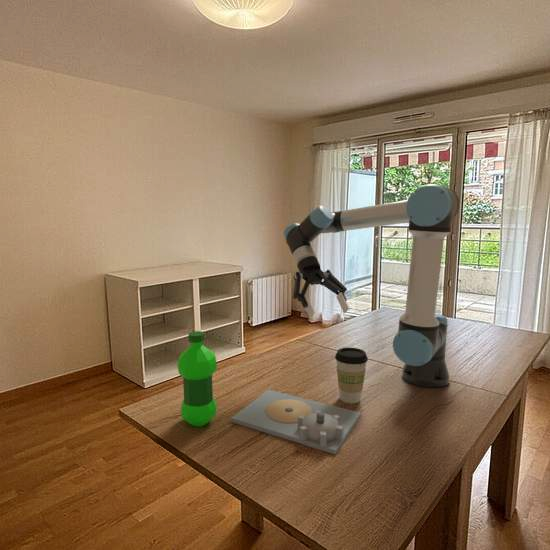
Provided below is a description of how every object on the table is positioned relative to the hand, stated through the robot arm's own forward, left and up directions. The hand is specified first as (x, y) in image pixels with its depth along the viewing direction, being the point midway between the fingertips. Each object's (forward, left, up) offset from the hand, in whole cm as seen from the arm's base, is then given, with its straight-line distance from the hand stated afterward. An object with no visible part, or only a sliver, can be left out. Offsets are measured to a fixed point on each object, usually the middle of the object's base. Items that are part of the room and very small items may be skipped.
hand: (329, 313), depth 126 cm
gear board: (-1, +25, -25) cm, 35 cm away
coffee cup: (-10, +6, -25) cm, 27 cm away
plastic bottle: (+22, +39, -25) cm, 52 cm away
